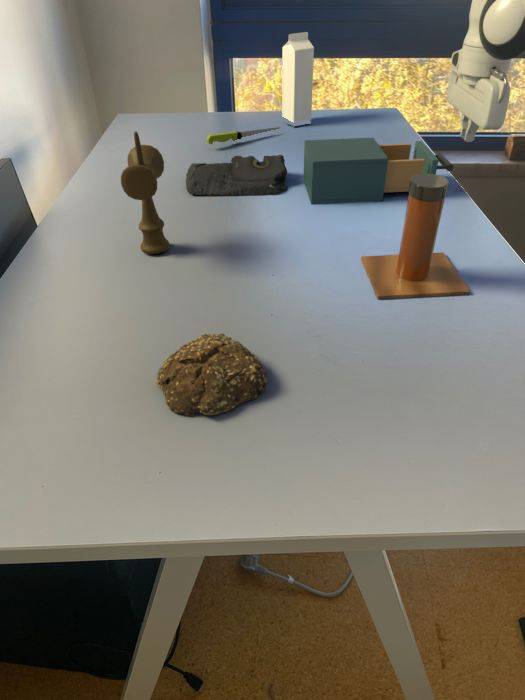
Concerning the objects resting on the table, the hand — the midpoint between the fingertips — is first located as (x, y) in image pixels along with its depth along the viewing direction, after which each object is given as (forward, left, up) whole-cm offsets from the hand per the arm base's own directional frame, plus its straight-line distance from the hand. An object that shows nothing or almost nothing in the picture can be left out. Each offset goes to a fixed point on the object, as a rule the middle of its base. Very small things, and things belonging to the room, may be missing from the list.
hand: (466, 139), depth 104 cm
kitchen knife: (+44, -34, -10) cm, 56 cm away
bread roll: (+52, +57, -10) cm, 78 cm away
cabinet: (+25, 0, -9) cm, 26 cm away
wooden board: (+20, +35, -9) cm, 41 cm away
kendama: (+62, +22, -10) cm, 66 cm away
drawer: (+12, 0, -9) cm, 15 cm away
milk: (+29, -48, -10) cm, 57 cm away
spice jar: (+20, +35, -9) cm, 41 cm away
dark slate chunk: (+47, -7, -10) cm, 48 cm away
